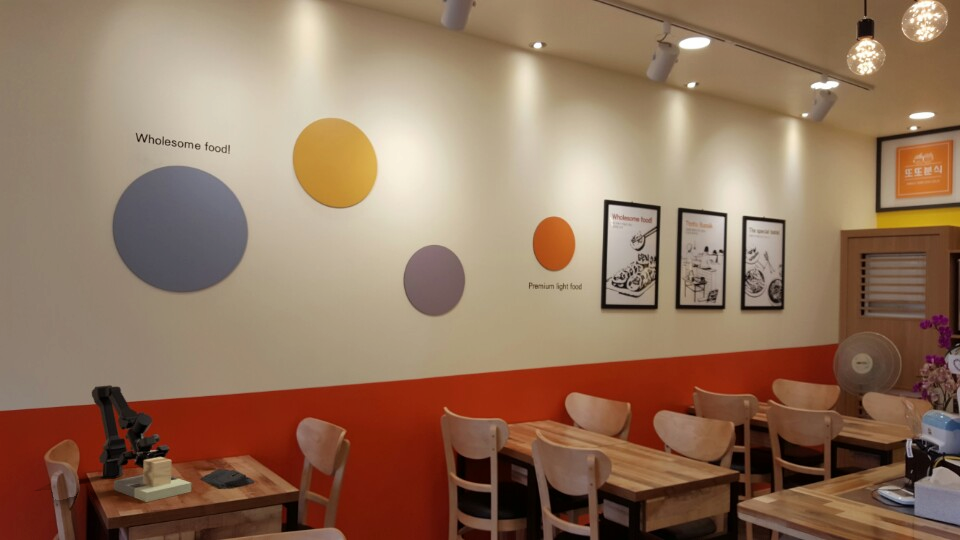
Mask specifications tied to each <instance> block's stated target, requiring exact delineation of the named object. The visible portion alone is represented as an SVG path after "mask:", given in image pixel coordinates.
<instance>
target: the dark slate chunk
mask: <svg viewBox="0 0 960 540" xmlns="http://www.w3.org/2000/svg"><path fill="white" fill-rule="evenodd" d="M200 480H201V481H202V482H204V483H206V484H207V485H210V486H212V487H214V488H216V489H219V490H221V489H222V490H227V489H231V488H239V487H243V486H247V485H251V484H254V483H255V479H252V478H251V477H248V476H247V475H246V474H243V472H239V471H237V470H235V469H231V470H230V469H226V468H225V469H224V468H223V469H222V468H218V469H215V470H213V471H211V472H210V473H207V474H206V475H203V476H202V477H201V478H200Z"/></svg>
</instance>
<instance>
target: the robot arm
mask: <svg viewBox="0 0 960 540" xmlns="http://www.w3.org/2000/svg"><path fill="white" fill-rule="evenodd" d="M91 397H92V399H93V402H94V403H95V405H96V406H98V408H99V410H100V416H101V420H102V421H101V422H102V426H103V429H104V435H105V442H104V444H103V446H102V449H103V450H102V452H101V454H100V456H99V459H98V460H99V463H101V464H102V475H101V476H100V478H101V479H103V478H104V479H105V478H106V479H117V478H119V477H120V476H122V475H124V473H123V466H127V465H128V463H129V461H131V460H134V463H133V465H134V466H138V467H139V468H141V469H143V466H144V460H147V459H152V458H157V457H163V458H166V456H167V455H168V453H169V452H170V447H169V446H168V445H167V444H164V445H159V446H158V445H157V446H156V449H153V448H154V445H156V444H157V443H160V436H159V434H158V433H156V434H155V433H154V434H153V435H150V436H146V437H145V433H146V432H147V431H148V430H149V428H150V426H151V425H152V423H153V418H152V417H151V416H150V415H149V414H146V413H145V412H144V411H142V412H137V411H135V410H134V409H132V408H131V407H130V405H129V404H128V402H127V400H126V398H125V397H124V395H123V393H122V389H121V386H118V385H117V386H112V385H111V384H110V385H100V386H99V385H98V386H95V387H94V389H92V390H91ZM114 410H115V411H116V413H117V415H118V419H117V420H116V415H115V411H114ZM117 422H118V426H119V428H120V429H121V430H123V431H124V430H127V431H126V434H125V437H124V438H121V436H119V431H118V430H119V429H118V426H117ZM126 440H129V441H128V442H129V444H130V450H128V447H127V445H126ZM152 449H153V450H152Z"/></svg>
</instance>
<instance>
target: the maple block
mask: <svg viewBox="0 0 960 540" xmlns="http://www.w3.org/2000/svg"><path fill="white" fill-rule="evenodd" d="M172 462H173V461H172V459H169V458H166V457H164V458H163V457H157V458H152V459H147V460H144V466H143V468H142V470H143V471H142V473H143V474H142V475H143V483H144V484H147V485H150V486H152V487H156V486H160V485H165V484H169V483H171V476H172Z"/></svg>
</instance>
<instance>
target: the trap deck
mask: <svg viewBox="0 0 960 540" xmlns="http://www.w3.org/2000/svg"><path fill="white" fill-rule="evenodd" d="M113 491H116V492H119V493H121V494H124V495H127V496H130V497H131V498H135V499H138V500H140V501H141V502H145V503H148V502H153V501H157V500H162V499H165V498H170V497H173V496H174V497H175V496H179V495H183V494H188V493H191V492H192V482H190V481H186V480H183V479H181V478H178V477H174V476H172V475H171V483H169V484H165V485H160V486H156V487H152V486H150V485H147V484H144V483H143V474H142V475H137V476H131V477H127V478H121V479H117V480H114V481H113Z"/></svg>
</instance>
